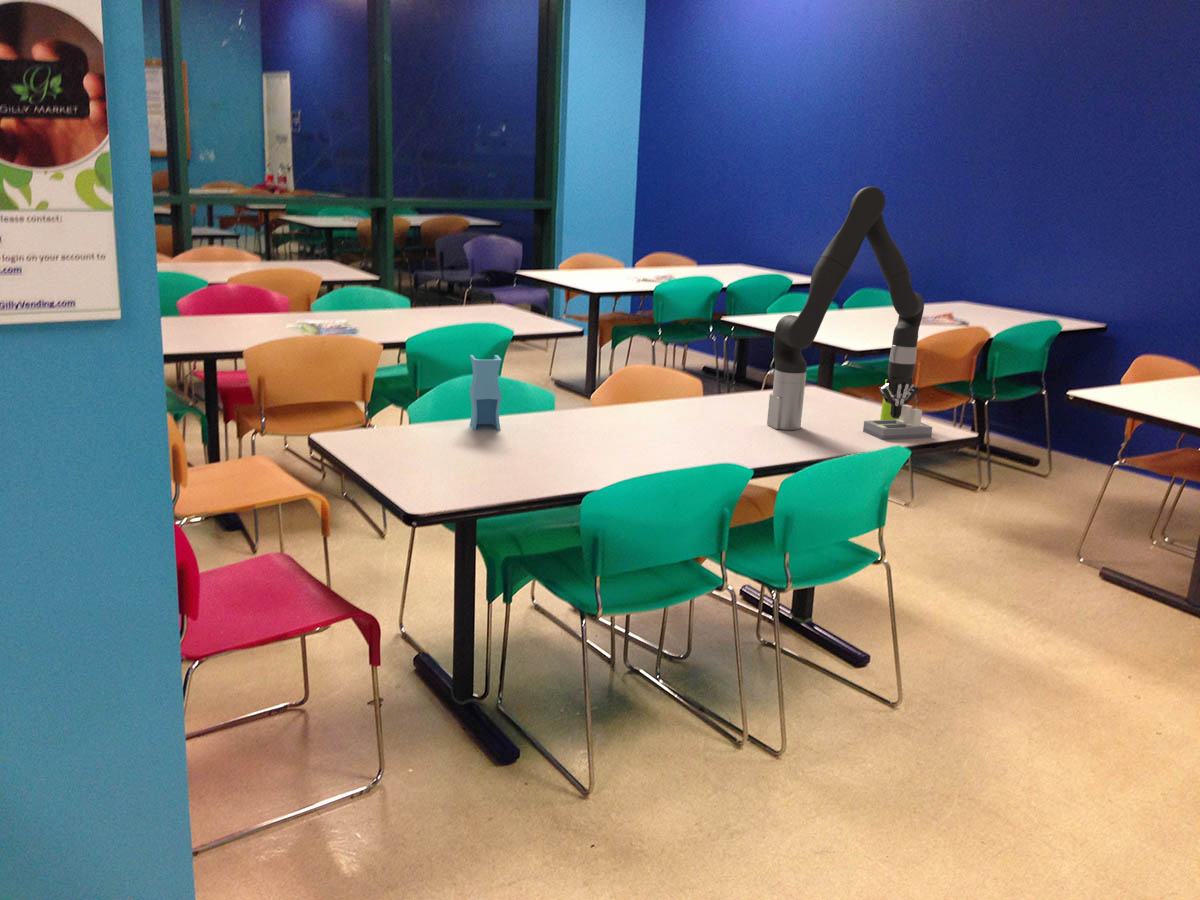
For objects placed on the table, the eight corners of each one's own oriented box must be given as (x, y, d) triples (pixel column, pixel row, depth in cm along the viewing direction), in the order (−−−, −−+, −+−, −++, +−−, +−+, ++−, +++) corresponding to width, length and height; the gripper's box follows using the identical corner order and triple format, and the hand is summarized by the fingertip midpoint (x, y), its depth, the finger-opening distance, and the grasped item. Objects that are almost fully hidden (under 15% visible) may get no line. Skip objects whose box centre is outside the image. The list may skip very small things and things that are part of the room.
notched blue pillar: (496, 423, 297) (497, 354, 291) (500, 430, 290) (502, 360, 284) (468, 423, 295) (469, 354, 289) (472, 430, 287) (473, 360, 282)
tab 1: (901, 428, 308) (904, 407, 306) (895, 426, 311) (898, 404, 309) (912, 428, 309) (915, 406, 307) (906, 425, 312) (909, 404, 310)
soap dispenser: (905, 424, 319) (913, 361, 314) (882, 423, 319) (890, 360, 314) (900, 420, 325) (908, 357, 320) (878, 419, 325) (886, 356, 320)
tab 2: (911, 432, 304) (913, 411, 302) (904, 430, 306) (907, 408, 304) (922, 432, 305) (925, 410, 303) (916, 429, 308) (918, 408, 306)
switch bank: (882, 439, 299) (883, 428, 298) (862, 431, 308) (864, 420, 308) (930, 437, 305) (932, 426, 304) (910, 428, 314) (911, 418, 313)
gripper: (891, 363, 297) (883, 421, 302) (929, 362, 302) (921, 419, 307) (876, 358, 304) (869, 415, 309) (913, 357, 309) (906, 413, 313)
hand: (895, 417), depth 308 cm, fingers closed
